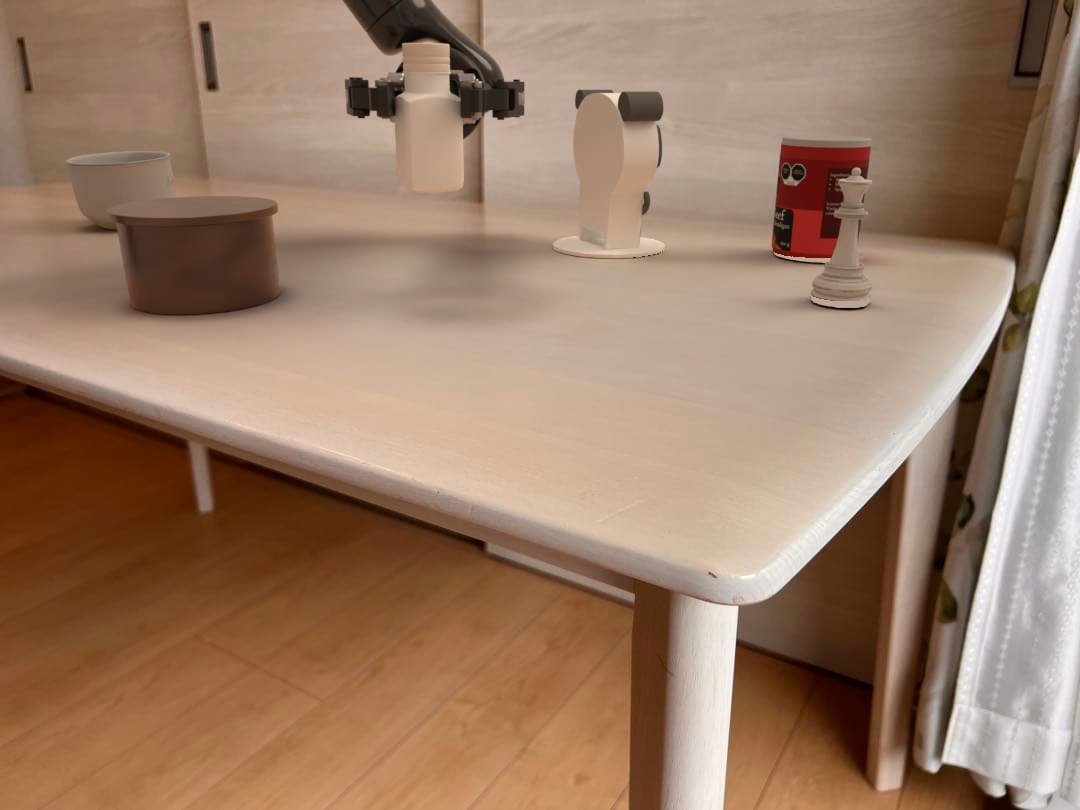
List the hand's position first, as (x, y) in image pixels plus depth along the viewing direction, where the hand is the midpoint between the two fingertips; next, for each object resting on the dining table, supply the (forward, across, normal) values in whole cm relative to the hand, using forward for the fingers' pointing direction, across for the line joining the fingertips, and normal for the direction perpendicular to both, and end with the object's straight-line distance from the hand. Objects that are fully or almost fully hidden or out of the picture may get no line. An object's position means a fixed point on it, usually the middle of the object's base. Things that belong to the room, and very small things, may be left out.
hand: (424, 100), depth 56 cm
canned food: (-22, +35, +14) cm, 44 cm away
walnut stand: (-7, -18, +15) cm, 24 cm away
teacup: (-44, -39, +15) cm, 61 cm away
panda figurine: (-27, +16, +15) cm, 34 cm away
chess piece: (-3, +31, +14) cm, 34 cm away
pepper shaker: (-3, 0, +6) cm, 7 cm away
